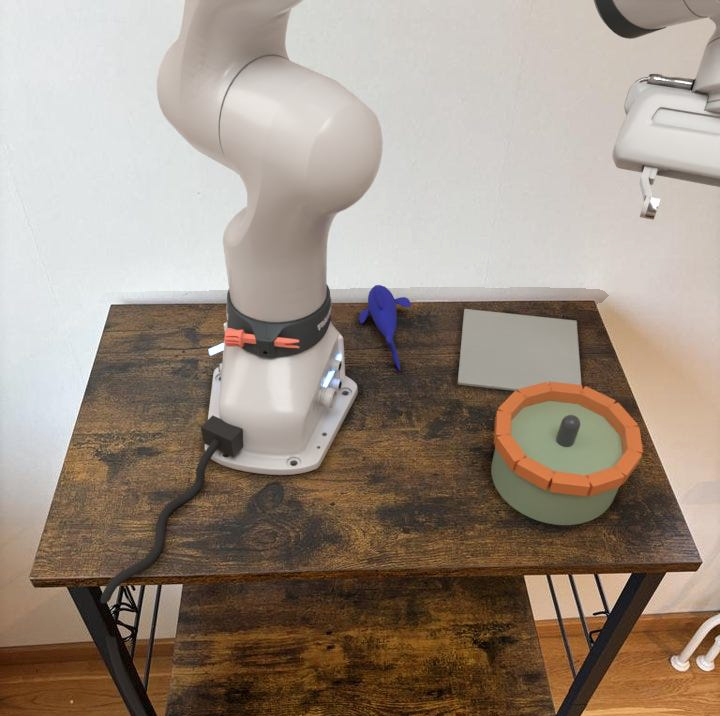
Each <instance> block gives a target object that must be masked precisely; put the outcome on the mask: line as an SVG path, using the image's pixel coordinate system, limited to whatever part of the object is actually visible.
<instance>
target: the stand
mask: <svg viewBox="0 0 720 716" xmlns="http://www.w3.org/2000/svg"><path fill="white" fill-rule="evenodd" d="M511 436H512V437H513V438H514V440H515V441H516V442H517V444H518V445H519V447H520V448H521V449H522V451H523V452H524V453H525V455H526V456H527V457H529V458H531V459H533V460H535V461H536V462H538V463H540V464H542V465H544V466H546V467H547V468H549V469H551V470H553V471H557V472H565V473H573V474H581V475H589V474H592V473H595V472H599V471H602V470H605V469H608V468H611V467H614V466H615V465H616V464H617V462H618V461H619V460H620V458H621V457H622V456H623V449H622V441H621V436H620V435H619V434H618V432H617V431H616V430H615V429H614V428H613V427H612V425H611V424H610V423H609V422H608V421H607V420H606V419H605V417H603V416H601V415H599V414H597V413H595V412H593V411H591V410H589V409H587V408H585V407H583V406H581V405H579V404H574V403H565V402H557V401H545V402H542V403H538V404H534V405H531V406H527V407H524V408H523V409H522V410H521V411H520V412H519V413H518V414H517V415H516V416H515V417H514V418H513V419H512V420H511ZM490 469H491V471H490V472H491V473H490V474H491V478H492V482H493V484H494V487H495V489H496V490H497V492H498V494H499V496H501V498H502V499H503V500H504V501H505V502H506V503H507V504H508V505H509V506H510V507H512V508H513V509H514V510H516V511H517V512H519V513H520V514H522V515H524V516H526V517H528V518H530V519H532V520H535V521H537V522H541V523H544V524H549V525H554V526H575V525H580V524H585V523H588V522H590V521H593V520H595V519H597V518H599V517H601V515H603V514H604V513H605V512H606V511H607V510H608V509H609V508H610V507H611V505H612V504H613V502H614V500H615V497H616V495H617V493H618V491H619V488H620V487H617V488H614V489H611V490H608V491H605V492H602V493H599V494H595V495H592V496H589V495H588V493H587V496H578V495H570V494H562V493H554V492H549V487H548V489H547V490H544V489H542V488H540V487H538V486H536V485H534V484H533V483H531V482H529V481H527V480H525V479H524V478H522V477H520V476H518V475H516V474H515V470H514V471H511V469H510V468H509V466H508V465H507V464H506V462H505V461H504V459H503V458H502V456H501V455H500V454H499V452H498V451H497V449H496V448H495V447H494V452H493V457H492V460H491V468H490Z"/></svg>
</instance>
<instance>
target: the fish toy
mask: <svg viewBox="0 0 720 716" xmlns="http://www.w3.org/2000/svg"><path fill="white" fill-rule="evenodd" d="M397 305H399V306H402V307H405V308H410V307H411V305H412V304H411V301H410V299H409V298H408V297H406V296H402V297H396V298H395V297H394V295H393V293H392V292H391V291H390V290H389V289H388V288H387V287H386V286H384V285H382V284H375V285H374V286H372V288H371V289H370V290H369V293H368V297H367V306H368V307H367V308H366V309H364V310H362V311H361V312H360V313H359V317H358V320H359V323H360V324H361V325H362V324H364V323H365V322H366V320H367V318H368V317H369V314H370V316H371V317H372V320H373V322H374V324H375V326H376V328H377V330H378V331H379V332H380V334H382V335H383V336H384V338H385V341H386V344H387V347H388V349H389V351H390V354H391V356H392V360H393V362H394V365H395V366H396V368H397V370H398V371H399V372H401V369H402V368H401V364H400V363H401V362H400V359H399V355H398V351H397V348H396V345H395V342H394V337H395V334H396V330H397V323H398V319H397V318H398V313H397V312H398V311H397Z"/></svg>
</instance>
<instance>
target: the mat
mask: <svg viewBox="0 0 720 716" xmlns="http://www.w3.org/2000/svg"><path fill="white" fill-rule="evenodd" d="M579 348H580V347H579V334H578V321H577V320H573V319H565V318H564V319H563V318H556V317H555V318H554V317H547V316H545V317H544V316H536V315H528V314H517V313H510V312H509V313H507V312H500V311H499V312H498V311H490V310H481V309H480V310H479V309H472V308H471V309H469V308H464V309H463V318H462V329H461V341H460V350H459V351H460V353H459V361H458V365H459V366H458V373H457V374H458V375H457V385H459V386H468V387H477V388H484V389H485V388H486V389H493V390H503V391H512V392H514V391H518V389H521V388H525V387H528V386H532V385H536V384H539V383H543V382H547V383H548V384H549V382H559V383H568V384H577V385H582V375H581V374H582V373H581V362H580V361H581V360H580V349H579Z"/></svg>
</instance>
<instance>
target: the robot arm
mask: <svg viewBox="0 0 720 716" xmlns="http://www.w3.org/2000/svg"><path fill="white" fill-rule="evenodd" d="M302 2H304V0H184V7H183V14H182V21H181V25H180V26H181V27H180V31H179V35H178V38H177V39H176V40H175V41H174V42H173V43H172V44H171V45H170V47H169V48H168V49H167V50H166V52H165V54H164V55H163V57H162V60H161V62H160V65H159V69H158V72H157V76H156V77H157V79H156V95H157V101H158V105H159V107H160V111H161V112H162V114H163V117H164V118H165V119H166V121H167V122H168V123H169V124H170V125H171V126H172V127H173V129H174V130H175V131H176V132H177V133H178V134H179V135H180V136H181V137H182V138H183V139H184V140H185V141H186V142H187V143H188V144H189V145H190V146H191V147H192V148H194V149H195V150H196V152H197V151H198V152H199V153H201V154H202V155H204V156H206V157H207V158H210V159H212V160H213V161H214V162H216V163H218V164H220V165H222V166H224V167H226V168H228V169H230V170H231V171H233V172H234V173H236V174H237V175H238V176H239V177H240V179H241V181H242V182H243V185H244V188H245V190H246V194H247V195H246V206H245V207H243V208H242V209H241V210H240V211H238V212H237V213H236V214H235V215H233V217H232V218H231V220H229V222H228V223H227V224H226V227H225V229H224V232H223V234H222V235H223V236H222V245H223V253H224V261H225V268H226V276H227V283H228V290H227V293H226V306H225V312H226V313H225V314H226V322H224V323H223V329H224V340H223V342H222V343H220V344H218V345H215V346H212V347H210V348H208V355H210V356H213V355H215V354H217V353H220V352H222V362H221V363H219V365H218V366H217V367H216V368H215V369H214V371H213V373H212V374H213V375H212V381H211V382H212V383H211V390H210V399H209V400H210V401H209V407H208V415H207V420H206V421H205V422H204V423H203V424H202V425H201V426H200V429H201V434H202V439H203V444H204V452H203V454H202V456H201V458H200V460H199V461H198V464H197V466H196V470H195V471H196V472H195V481H194V483H193V484H192V486H191V487H190V488H189V489H187V491H186V492H184V493H182V494H181V495H179V496H178V497H176V498H174V499H173V500H171V501H170V502H169V503H168V504H166V505H165V506H164V508H162V510H161V512H160V514H159V515H158V518H157V520H156V526H155V539H154V544H153V546H152V548H151V550H150V552H149V553H148V554H147V555H146V556H145V558H143V559H142V560H140V561H139V562H137V563H135V564H133V565H131V566H129V567H127V568H125V569H123V570H122V571H120V572H119V573H118V574H116V575H115V576H113V577H112V578H111V580H109V582H108V583H107V584H106V586H105V588H104V590H103V592H102V594H101V596H100V600H99V601H100V603H101V604H108V602H110V600H111V598H112V596H113V594H114V593H115V591H116V590H117V588H118V587H119V586H120V585H121V584H122V583H124V582H125V581H127V580H129V579H130V578H131V577H134V576H135V575H137V574H139V573H141V572H143V571H145V570H146V569H147V568H149V567H150V566H152V564H154V563H155V562H156V560H157V559H158V558H159V557H160V555H161V553H162V551H163V550H164V549H163V548H164V544H165V536H166V534H165V533H166V526H167V525H166V524H167V521H168V519H169V517H170V515H171V514H172V513H173V512H174V511H175V510H177V508H179V507H180V506H182V505H184V504H185V503H188V502H189V501H190V500H191V499H193V498H194V497H196V495H198V493H199V491H201V489H202V488H203V486H204V484H205V473H206V469H207V466H208V464H209V462H210V460H212V461H213V462H215V463H217V464H219V465H221V466H223V467H225V468H229V469H233V470H236V471H241V472H246V473H253V474H259V475H268V476H269V475H272V476H291V475H299V474H305V473H308V472H312V471H315V470H318V469H319V468H320V466H321V465H322V463H323V461H324V459H325V458H326V455H327V454H328V452H329V449H330V448H331V446H332V444H333V442H334V440H335V438H336V437H337V434H338V433H339V430H340V429H341V427H342V425H343V423H344V421H345V419H346V417H347V416H348V414H349V412H350V409H352V408H351V407H352V406H353V404H354V402H355V400H356V399H357V396H358V394H359V389H358V388H359V387H358V384H357V382H356V381H354V380H353V379H352V378H350V377H349V376H347V375H346V365H345V364H346V363H345V345H344V344H345V343H344V337H343V336H342V334H341V333H340V332H339V330H338V329H337V328H336V327H335V326H334V324H333V323H332V321H331V320H332V311H333V310H332V308H333V302H332V297H331V290H330V287H329V285H328V283H327V279H328V278H327V272H328V271H327V270H328V269H327V268H328V267H327V266H328V265H327V264H328V263H327V262H328V241H329V240H328V239H329V234H330V230H331V227H332V223H333V222H334V219H335V217H336V216H337V215H338V214H339V213H342V212H344V211H346V210H348V209H349V208H351V207H352V206H353V205H355V204H356V203H358V202H359V201H360V200H362V198H363V197H364V196H365V194H367V192H368V191H369V189H370V188H371V187H372V185H373V183H374V181H375V180H376V177H377V175H378V173H379V170H380V167H381V163H382V157H383V150H384V149H383V148H384V147H383V144H384V142H383V141H384V140H383V131H382V127H381V123H380V120H379V119H378V117H377V114H376V113H375V112H374V110H373V109H372V108H371V107H370V106H368V105H367V104H366V103H365V102H363V100H361V99H360V98H359V97H358V96H357V95H355V94H354V93H353V92H352V91H350V90H349V89H348V88H346V86H344V85H342V84H341V83H340V82H339V81H337V80H336V79H334V78H331V77H329V76H327V75H324V74H322V73H319V72H318V71H315V70H313V69H311V68H308V67H305V66H303V65H301V64H298V63H297V62H294V61H292V60H290V58H289V55H288V52H287V47H286V38H287V31H288V30H287V28H288V23H289V20H290V15H291V12H292V9H293V8H295V7H296V6H299V5H300V4H301V3H302ZM593 4H594V6H595V9H596V11H597V13H598V16H599V17H600V19H601V20H602V22H603V23H604V25H606V27H607V28H608V29H609V30H611V31H612V33H614V34H615V35H617V36H619V37H621V38H624V39H629V40H630V39H633V40H634V39H637V38H640V37H643V36H645V35H649V34H653V33H655V32H657V31H660V30H661V31H662V30H664V29H666V28H667V27H673V26H677V25H681V24H686V23H689V22H695V21H698V20H704V19H709V20H711V21H712V22H713V23H714V24H715V29H714V32H713V33H712V34H711V36H710V38H709V39H708V41H707V43H706V45H705V48H704V50H703V55H702V57H701V60H700V62H699V66H698V69H697V72H696V75H695V78H689V77H688V78H687V77H681V76H666V75H663V74H660V73H649V74H648V76H645V77H640V78H638V79H637V80H635V81H633V83H632V84H631V85H630V87H629V88H628V92H627V95H626V98H625V101H624V105H623V109H624V113H625V115H626V116H625V118H624V120H623V122H622V124H621V127H620V129H619V132H618V134H617V137H616V140H615V143H614V145H613V149H612V155H611V157H612V158H611V159H612V160H613V163H614V165H615V167H616V168H617V169H619V170H627V171H630V172H631V171H632V172H636V173H641V174H640V175H641V176H640V180H639V186H640V191H641V195H642V199H643V201H644V202H643V205H642V208H641V211H640V214H639V218H642V219H647V220H653V221H654V220H655V217H656V214H657V211H658V209H659V205H660V202H661V198H658V197H657V198H656V197H653V191H652V188H651V186H652V185H654V183H655V181H656V177H657V176H659V177H664V178H668V179H674V180H680V181H685V182H690V183H696V184H702V185H705V186H712V187H717V188H720V0H593ZM105 640H106V644H107V645H106V646H107V650H108V653H109V656H110V661H111V664H112V667H113V670H114V673H115V676H116V678H117V681H118V683H119V685H120V687H121V690H122V692H123V694H124V696H125V698H126V699H127V701H128V703H129V705H130V707H131V708H132V710H133V711H134V713H135V715H136V716H147V715H146V713H145V711H144V709H143V708H142V706H141V705H140V703H139V701H138V698H137V697H136V695H135V692H134V691H133V689H132V686H131V685H130V683H129V680H128V677H127V675H126V672H125V668H124V666H123V662H122V659H121V655H120V651H119V647H118V642H117V637H115V636H109V635H105Z"/></svg>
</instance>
